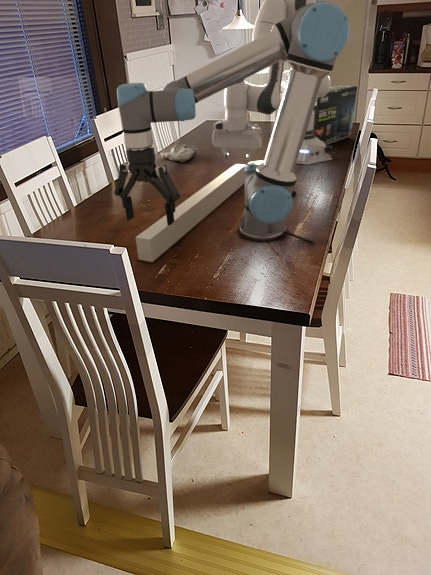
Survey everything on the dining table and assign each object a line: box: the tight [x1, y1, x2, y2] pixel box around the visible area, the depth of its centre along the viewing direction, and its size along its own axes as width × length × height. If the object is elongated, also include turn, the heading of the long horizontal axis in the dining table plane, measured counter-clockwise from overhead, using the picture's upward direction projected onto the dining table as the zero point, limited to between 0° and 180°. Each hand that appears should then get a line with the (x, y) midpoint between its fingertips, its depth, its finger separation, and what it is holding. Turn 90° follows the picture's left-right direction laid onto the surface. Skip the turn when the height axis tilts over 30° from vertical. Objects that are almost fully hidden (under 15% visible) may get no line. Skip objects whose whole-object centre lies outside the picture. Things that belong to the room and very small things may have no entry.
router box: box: [313, 84, 358, 144], centre depth 238 cm, size 36×11×27 cm, turn 134°
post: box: [135, 163, 246, 263], centre depth 163 cm, size 78×5×7 cm, turn 156°
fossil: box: [160, 142, 199, 163], centre depth 229 cm, size 18×11×15 cm
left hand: (150, 221), depth 133 cm, fingers open, 13 cm apart
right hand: (237, 159), depth 186 cm, fingers open, 8 cm apart
